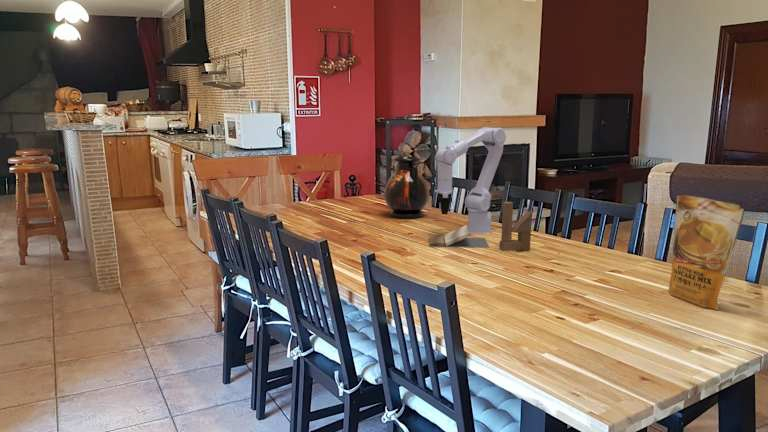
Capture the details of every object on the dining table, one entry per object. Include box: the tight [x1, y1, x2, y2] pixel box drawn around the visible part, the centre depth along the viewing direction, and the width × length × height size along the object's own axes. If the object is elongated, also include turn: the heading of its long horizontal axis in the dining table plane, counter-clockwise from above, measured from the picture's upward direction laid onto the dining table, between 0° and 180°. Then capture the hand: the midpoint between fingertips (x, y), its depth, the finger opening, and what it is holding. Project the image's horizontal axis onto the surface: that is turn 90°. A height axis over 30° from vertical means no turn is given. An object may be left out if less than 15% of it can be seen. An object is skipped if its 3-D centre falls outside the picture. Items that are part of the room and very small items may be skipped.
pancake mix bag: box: [667, 194, 745, 311], centre depth 154 cm, size 7×19×28 cm, turn 19°
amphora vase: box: [384, 156, 430, 219], centre depth 275 cm, size 22×22×28 cm
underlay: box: [429, 237, 490, 249], centre depth 221 cm, size 22×16×1 cm
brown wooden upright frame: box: [498, 201, 533, 252], centre depth 210 cm, size 4×11×18 cm, turn 104°
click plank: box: [443, 224, 472, 246], centre depth 221 cm, size 10×14×1 cm
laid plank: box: [428, 234, 446, 247], centre depth 222 cm, size 6×14×1 cm, turn 176°
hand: (444, 213), depth 231 cm, fingers open, 5 cm apart
